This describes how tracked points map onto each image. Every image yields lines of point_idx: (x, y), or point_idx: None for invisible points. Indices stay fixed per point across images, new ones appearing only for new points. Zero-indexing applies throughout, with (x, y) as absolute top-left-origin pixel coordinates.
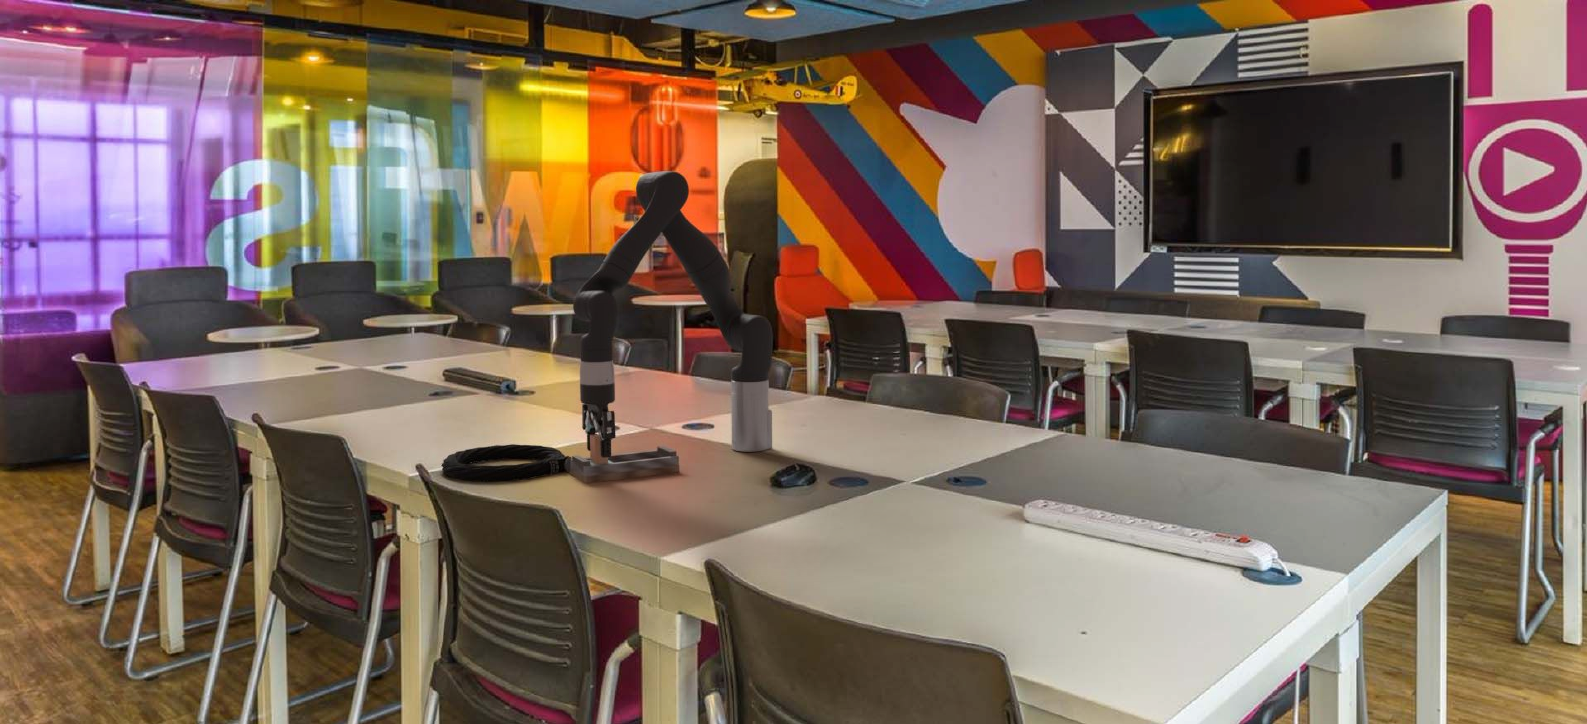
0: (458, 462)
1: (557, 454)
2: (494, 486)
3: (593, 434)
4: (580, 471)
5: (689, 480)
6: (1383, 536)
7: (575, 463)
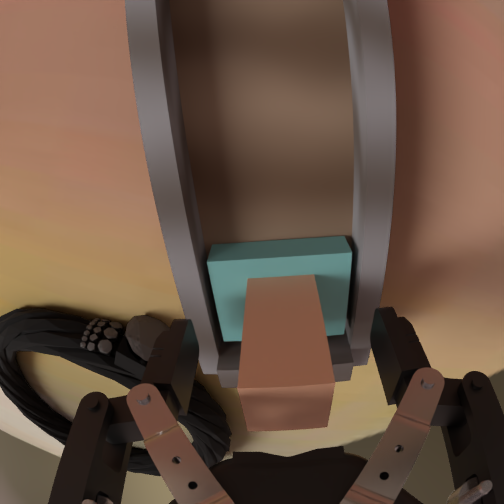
0: None
1: (87, 362)
2: (263, 444)
3: (176, 397)
4: None
5: (496, 11)
6: None
7: None
